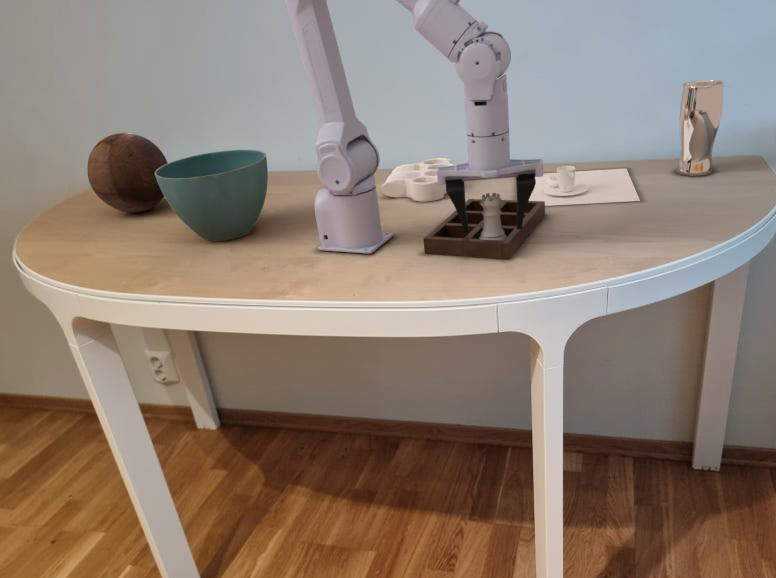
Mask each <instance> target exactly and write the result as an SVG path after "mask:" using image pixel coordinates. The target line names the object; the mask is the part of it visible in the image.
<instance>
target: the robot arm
mask: <svg viewBox="0 0 776 578" xmlns="http://www.w3.org/2000/svg"><path fill="white" fill-rule="evenodd" d="M460 1H461V0H396V2H398V3H399V4H400V5H402V7H404V8H405V9H406V10H407V11H409V12H410V13H411V14H412V18H413V19H412V20H413V25H414V30H415V31H416V32H417V33H419V34H420V36H422V37H423V38H424V39H425V40H426V41H428V42H429V43H430V44H431V45H432V46H433V47H434V48H435V49H436V50H438V51H439V53H441V54H442V56H444V57H445V58H447V60H449V61H450V62H451V63H454V66H455V67H454V68H455V71H456V74H457V77H458V78H459V79H460V81H462V83H463V88H464V114H465V126H466V146H467V161H468V162H466V163H460V164H454V165H453V166H447V167H438V168H437V179H438V185H441V184H446V192H447V193H446V194H447V196H448V198H449V200H450V201H451V203H452V205H453V207H454V209H455V211H456V210H457V213H458V215H459V218H460V221H461V224H462V228H463V233H468V218H467V211H466V204H465V202H466V190H465V189H466V188H465V182H474V181H486V180H487V181H488V180H499V179H509V178H510V179H511V178H515V182H516V184H515V187H516V200H517V214H516V222H517V229H522V224H523V218H524V213H525V210H526V206H527V203H528V201H529V198H530V196H531V194H532V192H533V190H534V187H535V184H536V180H535V177H542V176H543V173H544V160H543V159H542V158H536V159H535V158H533V159H515V158H513V159H511V147H510V117H509V116H510V115H509V94H508V83H507V82H508V81H507V74H505V73H506V72H507V70H508V68H509V67H510V64H511V60H512V52H511V47H510V45H509V43H508V42H507V40H506V39H505V38H504V36H503V35H502V33H500V32H497V31H495V30H487V29H488V28H489V25H488V24H487V23H486V22H485V21H484V20H481V21H478V20H477V19H476V18H475V17H474V16H472V14H470V13H469V11H467V10H466V9H465V8H464V7H463V6H461V4H459V3H460ZM284 2H285V6H286V10H287V15H288V17H289V21H290V24H291V28H292V31H293V35H294V38H295V42H296V46H297V49H298V53H299V56H300V60H301V63H302V67H303V71H304V74H305V77H306V78H305V79H306V81H307V84H308V88H309V92H310V96H311V99H312V102H313V107H314V110H315V113H316V117H317V120H318V124H319V131H318V135H317V138H316V141H315V145H314V147H315V151H316V155H317V162H316V176H317V178H318V181H319V182H320V184H321V185H322V186H323V188H321V189H319V191H318V192H317V194H316V196H315V199H314V214H315V220H316V221H315V222H316V226H317V233H318V239H319V243H320V245H319V246H318V248H317V249H318V251H326V252H341V253H351V254H353V253H354V254H367V255H368V254H372V253H374V252H376V250H378V249H379V248H380V247H381V246H383V245H384V244H385V243H386V242H388V241H389V240H390V239H392V238H393V237H394V233H392V232H383V229H382V222H381V214H380V207H379V199H378V191H377V184H376V178H375V173H376V172H377V171H378V169H379V166H380V160H381V158H380V152H379V150H378V148H377V146H376V144H374V142H373V141H372V139H371V137H370V136H369V131H368V128H367V127H366V125H365V124H364V123H363V122H362V121H361V120H360V119H359V118H358V117H357V115H356V110H355V107H354V103H353V99H352V96H351V92H350V91H351V90H350V87H349V84H348V79H347V75H346V72H345V68H344V64H343V60H342V57H341V52H340V49H339V44H338V41H337V37H336V34H335V29H334V26H333V25H334V24H333V22H332V18H331V14H330V11H329V10H330V9H329V6H328V1H327V0H284Z"/></svg>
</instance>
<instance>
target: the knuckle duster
mask: <svg viewBox="0 0 776 578" xmlns="http://www.w3.org/2000/svg"><path fill="white" fill-rule="evenodd" d="M453 165H455V163H453V160H452V159H451V158H448V157H435V158H429V159H425V160H422V161H421V162H416V163H406V164H401V165H398V166H396V167H394V169H392V170H391V173H390V174H389V176H387V177H386V180H385V181H384V183H382V185H381V186H380V191H381V193H382V194H383V195H384V196H387V197H388V198H389V197H390V198H397V199H400V198H401V199H402V198H410V199H412V200H413V201H415V202H420V203H425V202H427V203H429V202H435V201H439V200H442V199H444V198H445V195H446V194H447V192H446V184H441V185H438V179H437V168H438V167H447V166H453Z"/></svg>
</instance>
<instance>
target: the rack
mask: <svg viewBox="0 0 776 578" xmlns="http://www.w3.org/2000/svg"><path fill="white" fill-rule="evenodd" d="M481 200H482V198H468V199H467V200H465V204H466V211H467V218H468V233H463V228H462V224H461V221H460V218H459V215H458V213H457V210H456V209H455V211H453V212H452V213H451V214H450V215H448V216H447V217H446V218H445V219H444V220H443V221H442V222H441V223H440V224H438V225H437V226H436V227H435V228H433V229H432V231H430V232H429V233H428V234H427V235H425V236H424V237H423V246H424V248H423V249H424V254H426V255H438V256H439V255H441V256H453V257H454V256H456V257H467V258H468V257H469V258H482V259H495V260H497V259H498V260H510V259H511V257H513V255H514V254H515V253H516V252H517V250H518V249H519V248H520V247H521V245H522V244H524V242H525V241H526V239H527V238H528V237H529V236H530V235H531V234H532V232H533V231H534V230H535V229H536V227H537V226H538V225H539V223H540V222H541V221H542V220H543V219H544V218H545V216H546V206H545V201H528V203H527V206H526V210H525V213H524V218H523V224H522V229H517V222H516V214H517V199H515V200H514V199H513V200H512V199H501V200H502V201H503V202H502V204H501V205H500V210H501V214H500V220H501V225H502V229H503V231H504V234H505V235H506V236H507V238H506V239H505V240H504V241H501V240H484V239H479V237H480V236H481V232H482V230H483V221H484V219H483V215H482V212H483V207H482V206H481V205H480V201H481Z"/></svg>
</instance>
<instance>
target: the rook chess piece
mask: <svg viewBox="0 0 776 578" xmlns="http://www.w3.org/2000/svg"><path fill="white" fill-rule="evenodd" d="M481 199H482V200H481V201H480V205H481V206H482V207H483V212H482V215H483V219H484V221H483V230H482V232H481V236H480V237H479V239H484V240H501V241H504V240H505V239H506V238H507V236H506V235H505V234H504V231H503V229H502V225H501V220H500V214H501V210H500V205H501V204H502V202H503V201H502V200H503V199H502V198H501V195H500V193H496V192H492V193H491V195H490V192H487V193H485V194H482V195H481Z"/></svg>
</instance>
